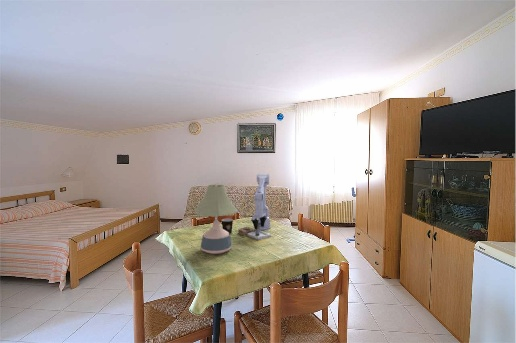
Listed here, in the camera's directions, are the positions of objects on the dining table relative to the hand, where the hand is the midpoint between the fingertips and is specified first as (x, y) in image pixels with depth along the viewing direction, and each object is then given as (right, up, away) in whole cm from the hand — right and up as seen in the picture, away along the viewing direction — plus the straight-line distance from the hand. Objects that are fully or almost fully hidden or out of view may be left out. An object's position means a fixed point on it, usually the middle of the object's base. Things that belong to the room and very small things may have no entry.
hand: (259, 227), depth 180 cm
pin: (-1, -6, +1) cm, 6 cm away
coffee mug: (-26, -6, +8) cm, 27 cm away
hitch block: (-9, -6, +7) cm, 13 cm away
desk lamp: (-26, -8, -27) cm, 39 cm away
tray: (0, -6, 0) cm, 6 cm away
